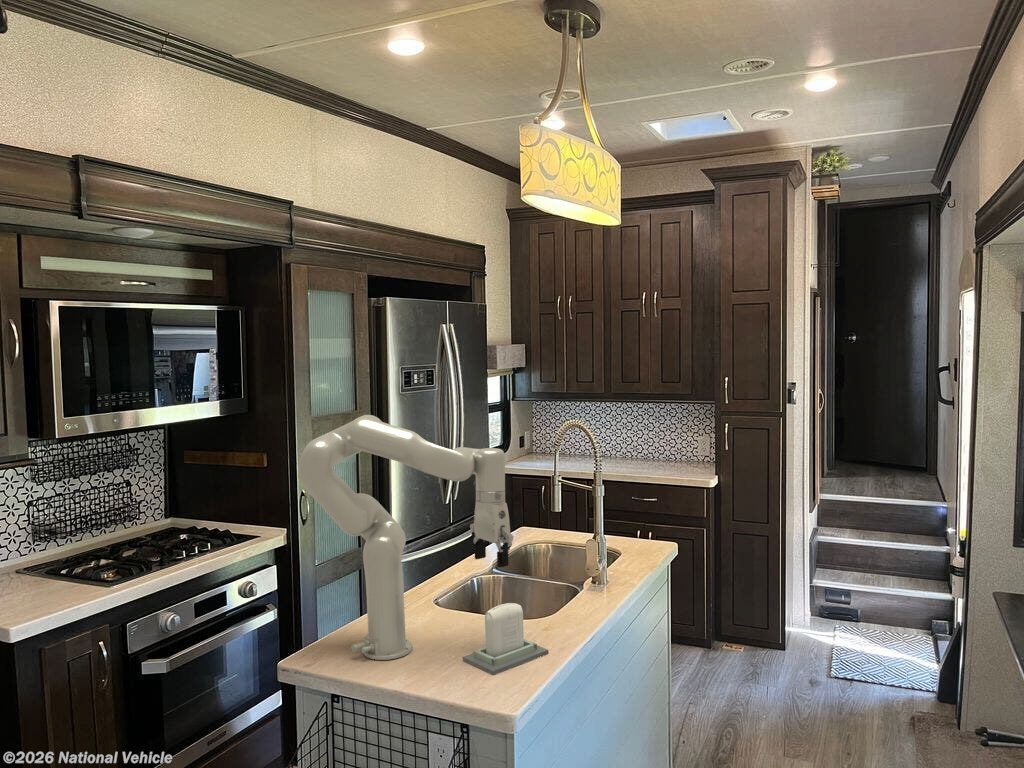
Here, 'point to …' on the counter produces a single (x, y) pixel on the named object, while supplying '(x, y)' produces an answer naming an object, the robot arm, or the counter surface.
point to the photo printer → (504, 629)
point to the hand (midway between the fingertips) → (491, 562)
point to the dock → (505, 658)
